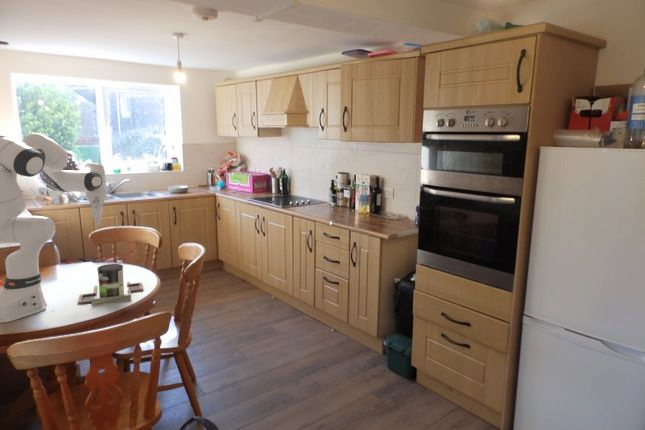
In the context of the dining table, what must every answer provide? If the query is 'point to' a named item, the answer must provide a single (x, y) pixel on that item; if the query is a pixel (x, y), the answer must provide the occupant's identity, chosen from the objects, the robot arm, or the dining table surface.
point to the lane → (90, 297)
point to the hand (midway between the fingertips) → (98, 224)
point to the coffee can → (110, 280)
